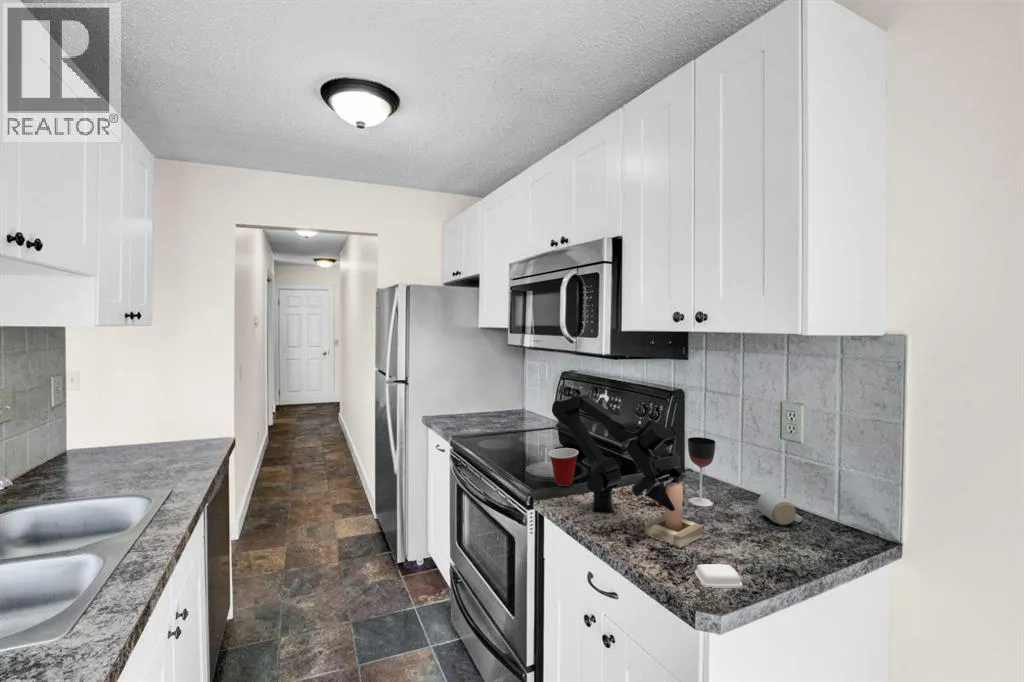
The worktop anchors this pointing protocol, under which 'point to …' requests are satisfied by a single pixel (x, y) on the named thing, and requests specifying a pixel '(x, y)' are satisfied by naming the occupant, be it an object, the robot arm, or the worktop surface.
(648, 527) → the socket block
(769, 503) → the ceramic mug
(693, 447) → the wineglass
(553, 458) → the plastic cup
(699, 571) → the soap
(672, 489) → the dowel
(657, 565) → the worktop surface
